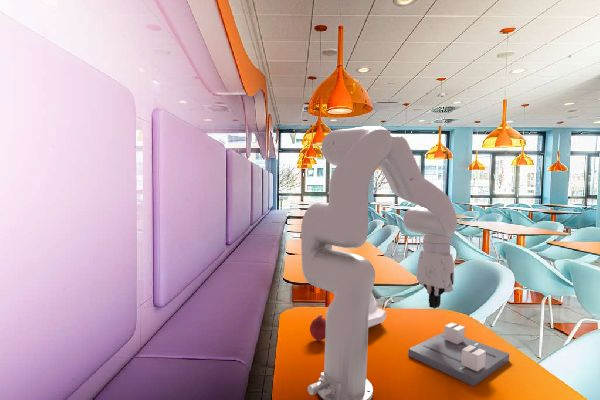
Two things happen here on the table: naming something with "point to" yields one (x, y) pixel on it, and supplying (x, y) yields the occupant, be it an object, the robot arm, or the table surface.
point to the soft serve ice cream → (375, 313)
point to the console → (457, 358)
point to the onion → (318, 328)
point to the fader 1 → (454, 333)
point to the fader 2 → (473, 358)
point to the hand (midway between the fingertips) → (434, 306)
